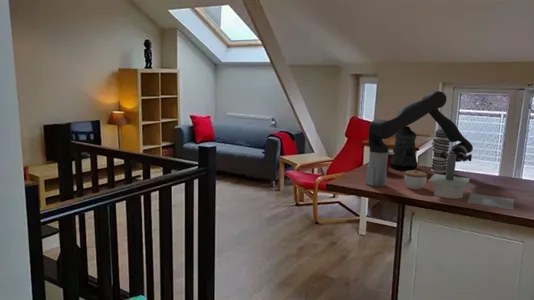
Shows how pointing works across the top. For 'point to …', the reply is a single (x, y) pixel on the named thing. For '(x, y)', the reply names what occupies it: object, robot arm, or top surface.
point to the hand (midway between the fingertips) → (454, 158)
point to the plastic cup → (389, 159)
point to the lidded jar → (415, 179)
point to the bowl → (448, 191)
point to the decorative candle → (439, 151)
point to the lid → (450, 175)
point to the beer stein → (404, 150)
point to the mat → (491, 201)
